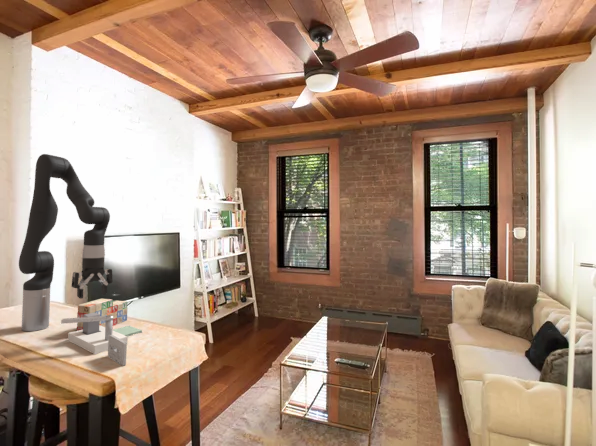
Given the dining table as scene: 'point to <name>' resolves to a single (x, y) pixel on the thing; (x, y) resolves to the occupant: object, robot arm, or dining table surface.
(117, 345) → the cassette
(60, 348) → the dining table surface
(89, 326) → the plug
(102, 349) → the socket block
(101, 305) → the stack of blocks
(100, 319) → the clip
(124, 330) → the mat
